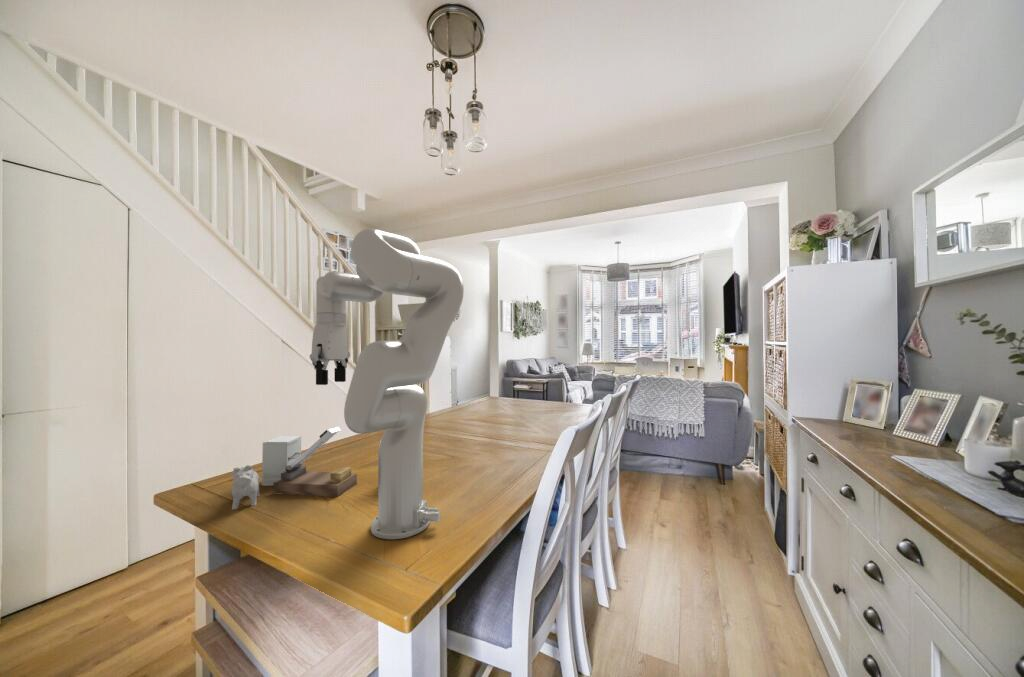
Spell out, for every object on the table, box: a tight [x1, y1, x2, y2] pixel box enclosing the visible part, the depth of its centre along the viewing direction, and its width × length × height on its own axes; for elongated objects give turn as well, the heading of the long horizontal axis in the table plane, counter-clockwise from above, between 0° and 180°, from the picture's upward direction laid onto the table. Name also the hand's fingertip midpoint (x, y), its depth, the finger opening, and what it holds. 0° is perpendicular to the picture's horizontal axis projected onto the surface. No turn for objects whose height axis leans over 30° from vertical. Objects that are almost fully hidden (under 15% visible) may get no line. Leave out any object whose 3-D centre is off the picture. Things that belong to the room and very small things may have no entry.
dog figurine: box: [230, 464, 260, 511], centre depth 91 cm, size 5×13×11 cm, turn 31°
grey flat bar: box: [285, 426, 341, 472], centre depth 101 cm, size 17×5×2 cm
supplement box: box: [261, 435, 302, 487], centre depth 107 cm, size 7×7×13 cm
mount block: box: [272, 465, 358, 498], centre depth 101 cm, size 19×9×5 cm, turn 83°
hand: (331, 382), depth 101 cm, fingers open, 7 cm apart
